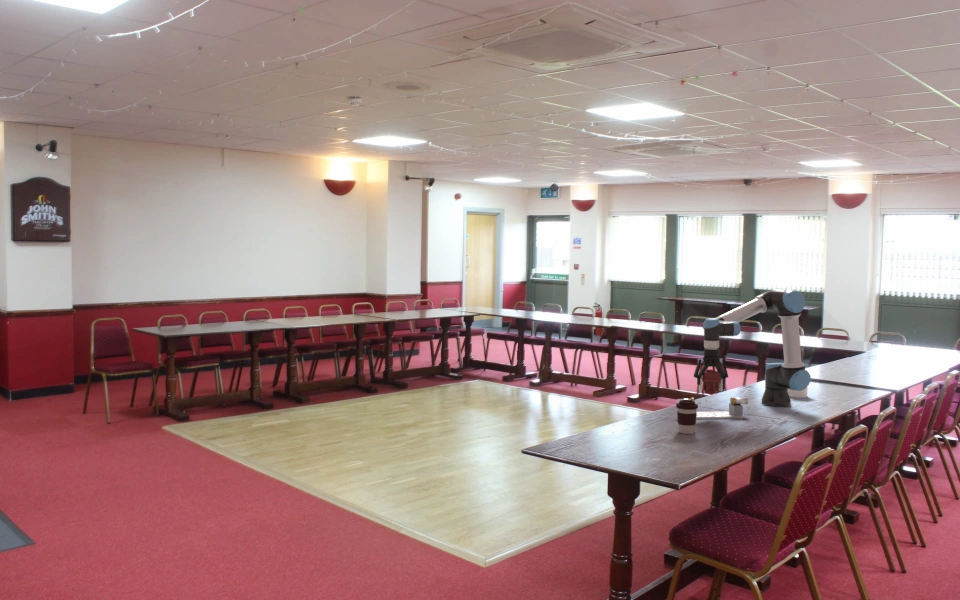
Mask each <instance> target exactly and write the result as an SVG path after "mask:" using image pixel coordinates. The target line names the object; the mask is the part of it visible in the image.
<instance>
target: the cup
mask: <svg viewBox="0 0 960 600" xmlns="http://www.w3.org/2000/svg"><path fill="white" fill-rule="evenodd" d="M788 394H789V397H790V398H797V399H798V398H799V399H800V398H801V399H804V398H807V397H808V387H807V388H806V389H804V390H802V391H794V390H791V389H788Z"/></svg>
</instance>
